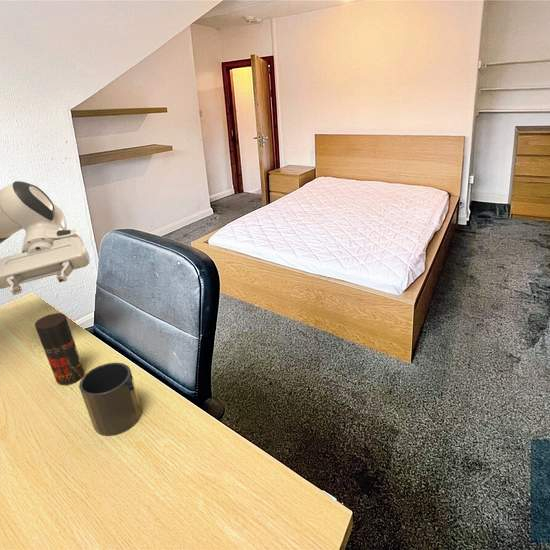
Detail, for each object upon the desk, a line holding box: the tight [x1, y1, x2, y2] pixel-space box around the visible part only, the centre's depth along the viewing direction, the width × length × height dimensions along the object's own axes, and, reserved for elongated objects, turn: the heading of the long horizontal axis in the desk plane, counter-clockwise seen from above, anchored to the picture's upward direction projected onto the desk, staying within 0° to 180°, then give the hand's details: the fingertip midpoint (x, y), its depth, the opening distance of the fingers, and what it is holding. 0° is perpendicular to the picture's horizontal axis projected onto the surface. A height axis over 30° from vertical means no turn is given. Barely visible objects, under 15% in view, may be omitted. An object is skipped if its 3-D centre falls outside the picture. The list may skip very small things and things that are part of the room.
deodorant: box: [34, 312, 86, 386], centre depth 89 cm, size 6×6×15 cm
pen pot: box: [78, 362, 142, 437], centre depth 78 cm, size 9×9×10 cm
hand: (38, 285), depth 88 cm, fingers open, 8 cm apart
